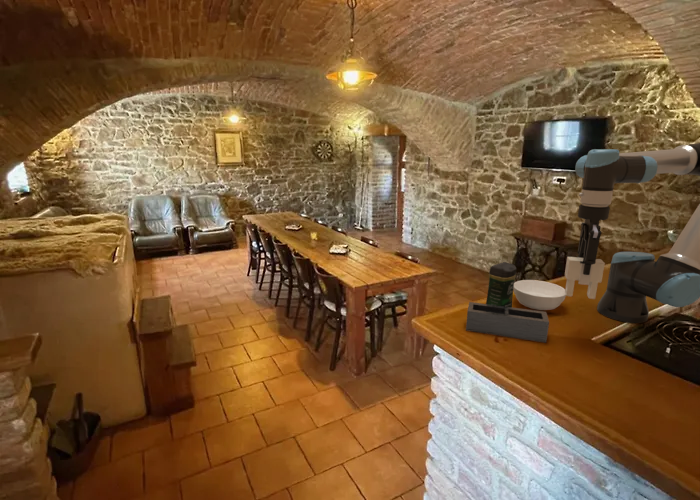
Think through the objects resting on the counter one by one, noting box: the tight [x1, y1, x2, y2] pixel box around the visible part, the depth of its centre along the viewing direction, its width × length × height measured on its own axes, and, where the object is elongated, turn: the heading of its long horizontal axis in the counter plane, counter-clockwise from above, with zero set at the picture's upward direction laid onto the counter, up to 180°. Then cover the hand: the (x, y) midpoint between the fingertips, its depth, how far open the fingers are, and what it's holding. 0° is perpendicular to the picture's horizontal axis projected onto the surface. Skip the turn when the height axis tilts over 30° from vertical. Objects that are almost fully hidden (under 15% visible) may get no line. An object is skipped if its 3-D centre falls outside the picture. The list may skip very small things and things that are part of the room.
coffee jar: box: [485, 261, 517, 308], centre depth 137 cm, size 10×8×19 cm
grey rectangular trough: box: [465, 301, 550, 344], centre depth 125 cm, size 24×8×7 cm, turn 69°
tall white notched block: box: [564, 256, 606, 300], centre depth 115 cm, size 9×4×12 cm, turn 69°
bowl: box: [513, 279, 567, 311], centre depth 144 cm, size 18×18×7 cm
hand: (582, 281), depth 115 cm, fingers closed on tall white notched block, 4 cm apart
